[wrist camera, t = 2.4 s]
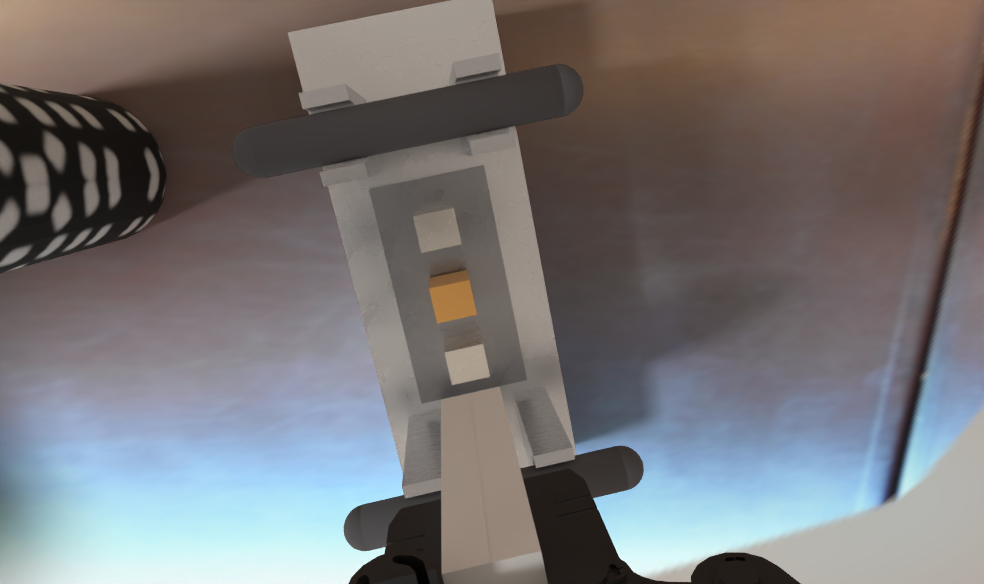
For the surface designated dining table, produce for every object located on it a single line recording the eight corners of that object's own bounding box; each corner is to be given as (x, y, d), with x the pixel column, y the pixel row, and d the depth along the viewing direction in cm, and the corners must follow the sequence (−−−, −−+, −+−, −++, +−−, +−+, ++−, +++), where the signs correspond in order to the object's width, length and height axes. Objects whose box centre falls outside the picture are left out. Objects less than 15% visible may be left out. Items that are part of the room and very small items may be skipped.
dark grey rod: (249, 181, 25) (233, 183, 24) (234, 132, 25) (218, 130, 23) (580, 112, 26) (592, 109, 24) (572, 63, 26) (583, 56, 24)
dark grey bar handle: (353, 537, 29) (347, 565, 28) (342, 501, 29) (335, 526, 27) (638, 471, 30) (652, 493, 28) (632, 434, 30) (646, 454, 28)
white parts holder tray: (420, 481, 42) (415, 628, 29) (311, 51, 36) (240, -6, 23) (563, 448, 43) (620, 578, 30) (481, 18, 36) (508, -57, 23)
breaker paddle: (436, 310, 33) (437, 323, 31) (429, 277, 33) (429, 288, 30) (473, 302, 33) (476, 314, 31) (466, 269, 33) (469, 279, 30)
